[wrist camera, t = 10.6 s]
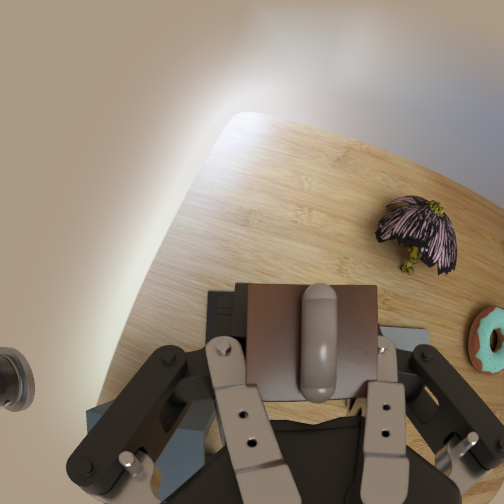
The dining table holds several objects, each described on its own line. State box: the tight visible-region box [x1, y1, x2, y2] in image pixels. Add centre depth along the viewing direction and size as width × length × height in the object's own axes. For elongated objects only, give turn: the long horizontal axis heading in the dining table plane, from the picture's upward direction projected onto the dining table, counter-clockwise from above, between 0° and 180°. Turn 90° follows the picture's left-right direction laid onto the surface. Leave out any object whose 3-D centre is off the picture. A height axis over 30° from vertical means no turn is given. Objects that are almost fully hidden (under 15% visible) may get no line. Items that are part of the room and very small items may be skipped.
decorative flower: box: [375, 196, 457, 275], centre depth 40 cm, size 14×12×15 cm
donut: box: [468, 306, 504, 375], centre depth 38 cm, size 12×12×4 cm
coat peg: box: [245, 283, 378, 403], centre depth 13 cm, size 5×4×11 cm
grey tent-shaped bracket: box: [86, 399, 216, 501], centre depth 30 cm, size 12×10×15 cm
